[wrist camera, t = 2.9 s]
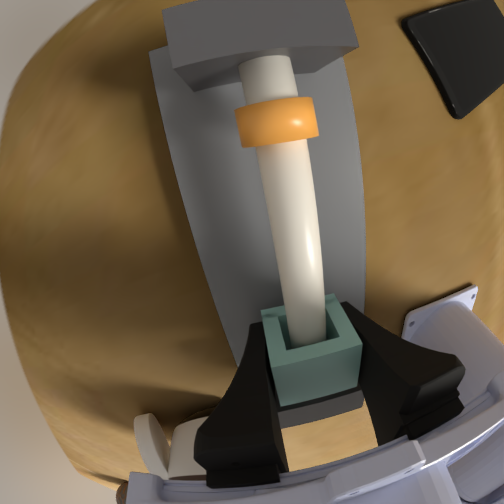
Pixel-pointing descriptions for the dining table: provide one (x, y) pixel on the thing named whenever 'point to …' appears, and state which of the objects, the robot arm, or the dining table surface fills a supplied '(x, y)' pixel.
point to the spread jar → (170, 447)
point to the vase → (122, 493)
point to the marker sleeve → (313, 356)
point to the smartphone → (461, 50)
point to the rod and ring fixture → (268, 164)
